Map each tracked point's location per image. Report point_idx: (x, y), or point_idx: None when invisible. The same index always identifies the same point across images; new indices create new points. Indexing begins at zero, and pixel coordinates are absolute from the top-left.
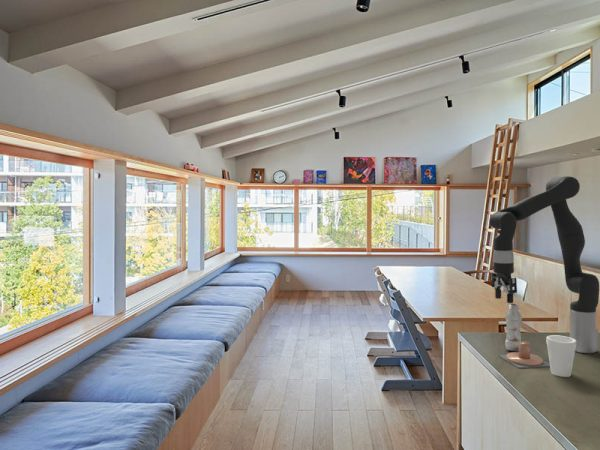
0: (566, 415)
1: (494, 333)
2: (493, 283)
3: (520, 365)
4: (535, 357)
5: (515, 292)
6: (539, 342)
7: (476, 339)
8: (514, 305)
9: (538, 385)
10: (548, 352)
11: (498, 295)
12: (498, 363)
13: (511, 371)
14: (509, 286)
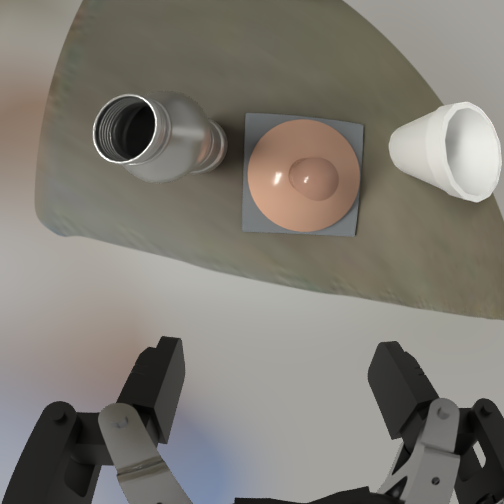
0: (499, 290)
1: (46, 124)
2: (94, 483)
3: (343, 221)
4: (313, 138)
5: (482, 411)
6: (147, 25)
7: (83, 209)
8: (110, 110)
9: (439, 259)
10: (427, 179)
11: (175, 378)
12: (303, 268)
13: (363, 268)
14: (458, 489)
